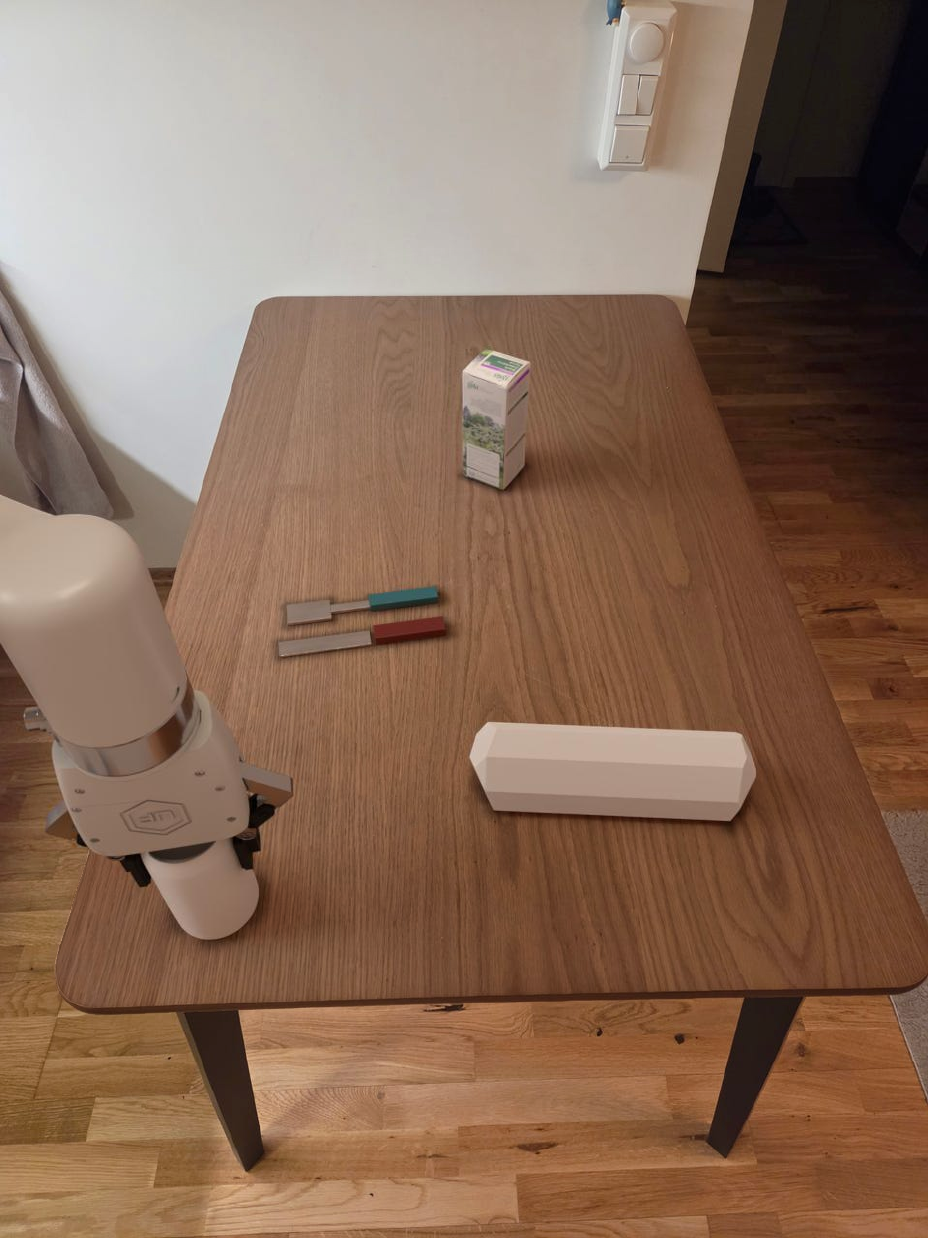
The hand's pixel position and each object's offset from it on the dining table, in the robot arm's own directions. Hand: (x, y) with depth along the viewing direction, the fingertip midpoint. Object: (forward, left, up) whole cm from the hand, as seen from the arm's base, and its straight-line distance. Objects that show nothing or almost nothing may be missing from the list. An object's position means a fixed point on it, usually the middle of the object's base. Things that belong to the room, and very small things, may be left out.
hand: (197, 858), depth 62 cm
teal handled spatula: (+14, +29, -7) cm, 33 cm away
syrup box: (+32, +49, -7) cm, 59 cm away
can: (0, 0, -7) cm, 7 cm away
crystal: (+33, +5, -7) cm, 34 cm away
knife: (+14, +25, -7) cm, 30 cm away
